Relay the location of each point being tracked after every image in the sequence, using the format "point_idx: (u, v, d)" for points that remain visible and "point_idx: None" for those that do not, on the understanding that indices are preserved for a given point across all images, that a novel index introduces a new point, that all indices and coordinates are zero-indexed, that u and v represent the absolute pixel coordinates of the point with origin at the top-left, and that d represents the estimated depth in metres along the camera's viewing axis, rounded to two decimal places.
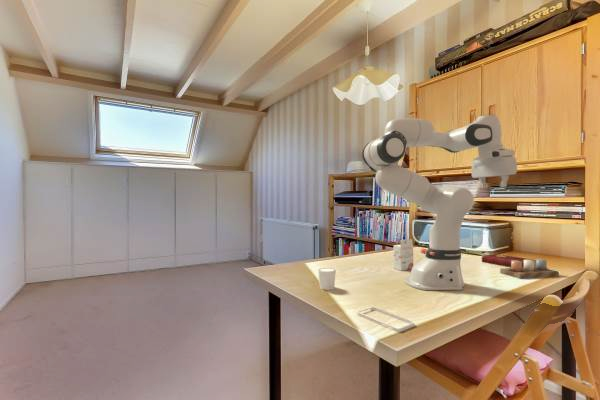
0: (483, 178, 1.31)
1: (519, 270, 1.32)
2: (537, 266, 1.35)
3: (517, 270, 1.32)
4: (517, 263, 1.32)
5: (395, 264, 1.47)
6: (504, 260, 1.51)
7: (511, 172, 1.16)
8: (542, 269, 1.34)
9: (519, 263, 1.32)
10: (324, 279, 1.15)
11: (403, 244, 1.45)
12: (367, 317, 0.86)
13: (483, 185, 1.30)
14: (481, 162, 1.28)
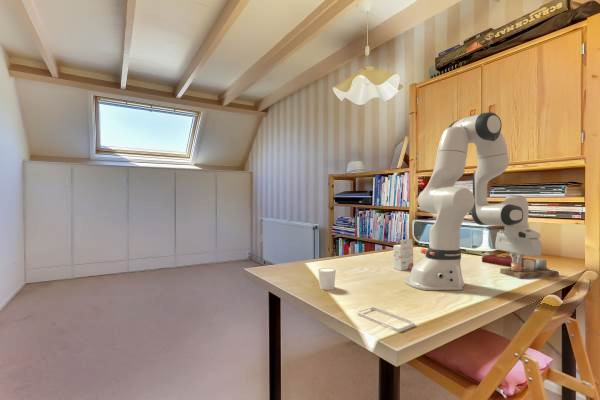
0: (514, 253, 1.35)
1: None
2: (537, 266, 1.35)
3: None
4: (517, 265, 1.32)
5: (395, 264, 1.47)
6: (505, 260, 1.51)
7: (536, 255, 1.24)
8: (542, 269, 1.34)
9: (519, 265, 1.32)
10: (324, 279, 1.15)
11: (403, 244, 1.45)
12: (367, 317, 0.86)
13: (514, 260, 1.34)
14: (506, 237, 1.36)
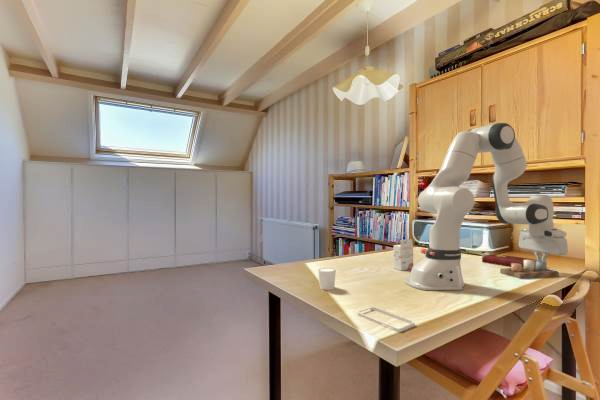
0: (538, 251, 1.37)
1: None
2: (537, 268, 1.35)
3: None
4: (517, 266, 1.32)
5: (395, 264, 1.47)
6: (506, 260, 1.51)
7: (562, 253, 1.26)
8: None
9: (519, 266, 1.32)
10: (324, 279, 1.15)
11: (403, 244, 1.45)
12: (367, 317, 0.86)
13: (538, 258, 1.36)
14: (530, 236, 1.39)
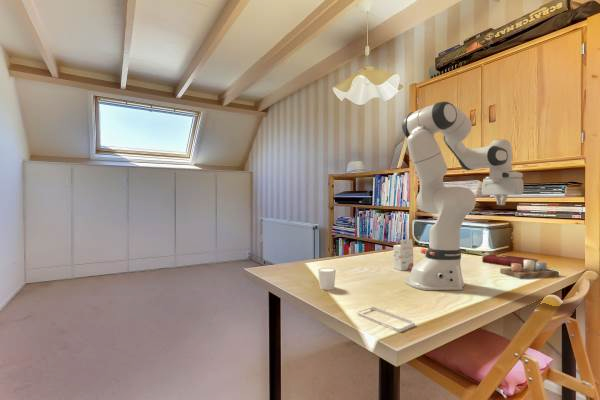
0: (498, 196, 1.41)
1: None
2: (537, 269, 1.35)
3: None
4: (517, 266, 1.32)
5: (395, 264, 1.47)
6: (507, 260, 1.51)
7: (518, 192, 1.30)
8: None
9: (519, 266, 1.32)
10: (324, 279, 1.15)
11: (403, 244, 1.45)
12: (367, 317, 0.86)
13: (498, 202, 1.40)
14: (491, 181, 1.43)
